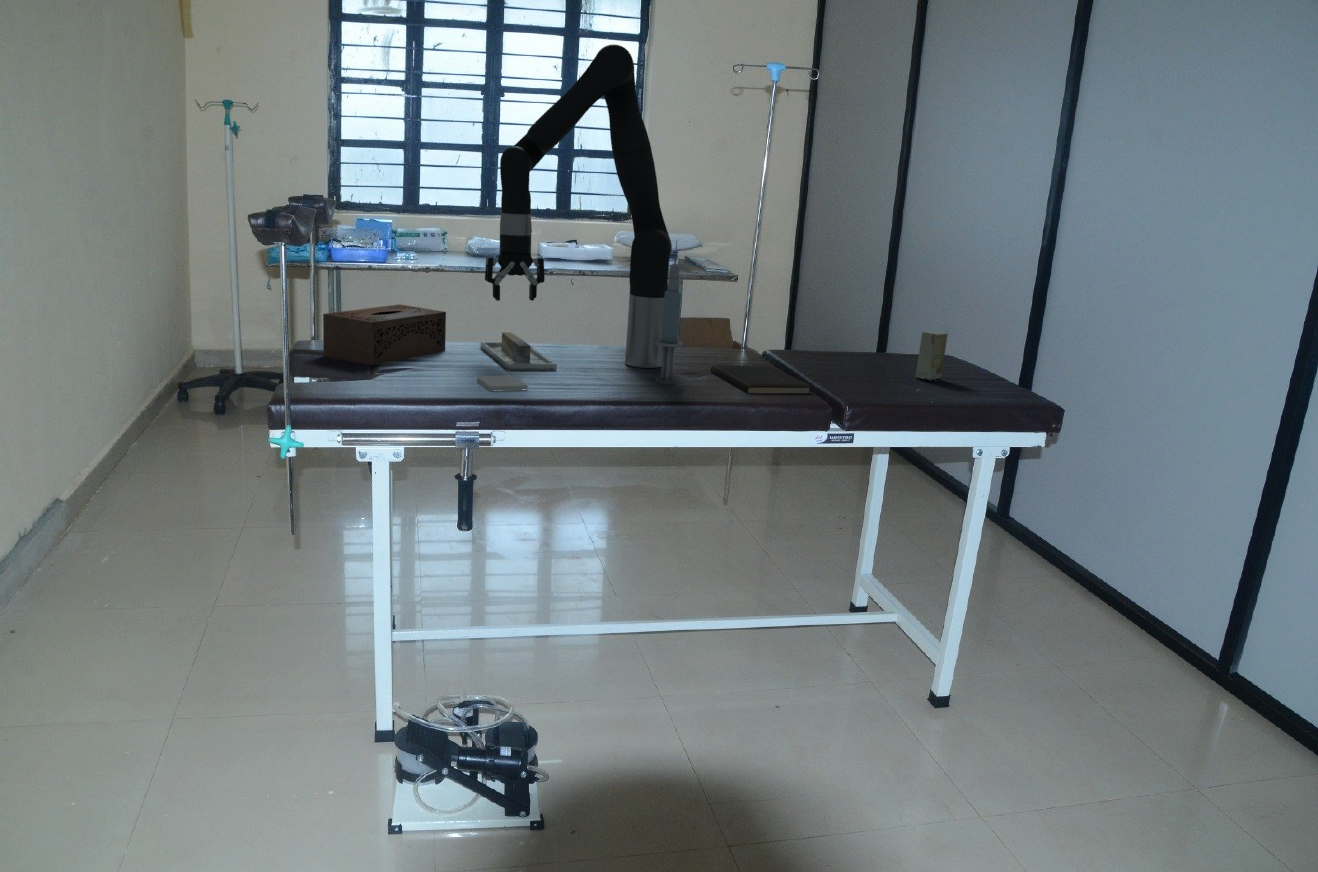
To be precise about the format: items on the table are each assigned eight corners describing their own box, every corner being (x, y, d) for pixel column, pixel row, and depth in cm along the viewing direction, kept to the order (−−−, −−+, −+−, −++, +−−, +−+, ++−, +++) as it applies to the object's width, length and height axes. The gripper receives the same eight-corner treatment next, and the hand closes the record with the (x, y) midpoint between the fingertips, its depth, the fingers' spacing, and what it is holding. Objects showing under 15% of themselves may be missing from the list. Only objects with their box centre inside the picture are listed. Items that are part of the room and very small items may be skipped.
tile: (512, 375, 224) (527, 385, 216) (512, 382, 225) (527, 392, 216) (477, 376, 221) (490, 386, 212) (476, 383, 221) (490, 393, 213)
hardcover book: (769, 374, 256) (770, 365, 255) (810, 396, 235) (811, 386, 234) (710, 374, 251) (710, 365, 250) (746, 395, 230) (747, 385, 229)
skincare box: (929, 382, 259) (936, 334, 256) (914, 379, 262) (921, 331, 259) (941, 379, 264) (948, 332, 260) (926, 376, 266) (933, 330, 263)
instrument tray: (525, 348, 263) (525, 342, 263) (556, 370, 238) (556, 364, 238) (480, 348, 258) (480, 342, 258) (507, 370, 234) (507, 364, 234)
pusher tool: (511, 348, 258) (512, 332, 257) (529, 362, 242) (530, 345, 241) (501, 348, 257) (501, 332, 256) (519, 362, 241) (519, 345, 240)
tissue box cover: (371, 366, 229) (371, 322, 226) (323, 357, 235) (323, 313, 232) (445, 352, 251) (446, 311, 249) (399, 343, 257) (399, 304, 255)
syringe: (666, 378, 239) (676, 228, 229) (682, 384, 234) (693, 231, 224) (647, 380, 236) (656, 227, 226) (662, 386, 231) (673, 230, 221)
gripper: (539, 232, 251) (538, 298, 255) (482, 230, 246) (482, 298, 250) (548, 234, 245) (547, 302, 249) (490, 233, 239) (489, 302, 243)
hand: (514, 300), depth 249 cm, fingers open, 8 cm apart
